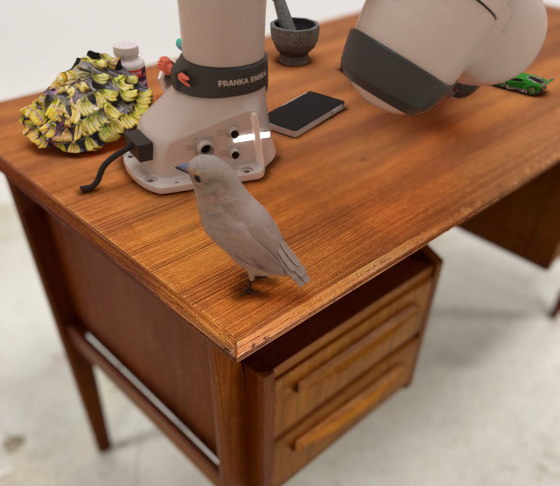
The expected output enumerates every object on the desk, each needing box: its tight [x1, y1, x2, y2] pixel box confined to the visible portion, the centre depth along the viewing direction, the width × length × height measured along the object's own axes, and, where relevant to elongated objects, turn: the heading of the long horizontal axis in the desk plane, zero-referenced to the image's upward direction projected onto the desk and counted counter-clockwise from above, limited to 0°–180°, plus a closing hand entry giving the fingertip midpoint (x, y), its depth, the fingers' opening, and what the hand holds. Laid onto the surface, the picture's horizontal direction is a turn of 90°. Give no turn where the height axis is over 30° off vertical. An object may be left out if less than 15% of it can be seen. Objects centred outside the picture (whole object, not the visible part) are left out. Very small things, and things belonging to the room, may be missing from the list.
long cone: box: [157, 56, 177, 95], centre depth 106 cm, size 6×6×19 cm
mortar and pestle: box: [269, 0, 321, 67], centre depth 113 cm, size 11×9×12 cm
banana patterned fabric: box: [18, 49, 154, 154], centre depth 86 cm, size 20×16×7 cm
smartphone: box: [268, 90, 346, 138], centre depth 96 cm, size 8×1×15 cm
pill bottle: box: [112, 40, 149, 87], centre depth 95 cm, size 5×5×10 cm
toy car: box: [494, 72, 555, 95], centre depth 106 cm, size 10×5×2 cm, turn 52°
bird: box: [175, 154, 311, 298], centre depth 57 cm, size 5×14×15 cm, turn 72°
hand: (396, 21), depth 106 cm, fingers closed on cup, 6 cm apart
